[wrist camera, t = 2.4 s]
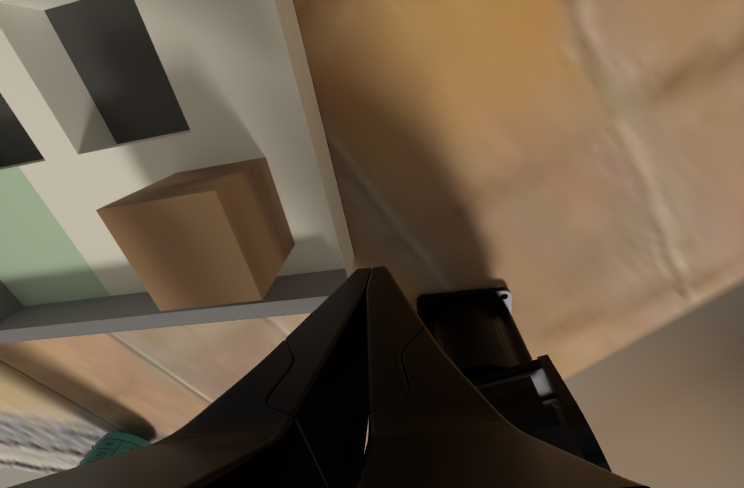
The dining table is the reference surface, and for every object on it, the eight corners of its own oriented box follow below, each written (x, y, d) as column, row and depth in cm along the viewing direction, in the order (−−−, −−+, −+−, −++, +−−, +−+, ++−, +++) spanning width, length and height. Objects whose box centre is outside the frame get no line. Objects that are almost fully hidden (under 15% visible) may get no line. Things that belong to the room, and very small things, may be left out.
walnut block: (265, 157, 16) (215, 190, 11) (295, 244, 18) (262, 300, 14) (176, 172, 16) (96, 210, 12) (215, 254, 19) (160, 310, 14)
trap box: (266, -106, 13) (193, -207, 8) (354, 256, 22) (342, 309, 17) (-155, 23, 17) (-377, 3, 12) (61, 292, 25) (-18, 345, 20)
